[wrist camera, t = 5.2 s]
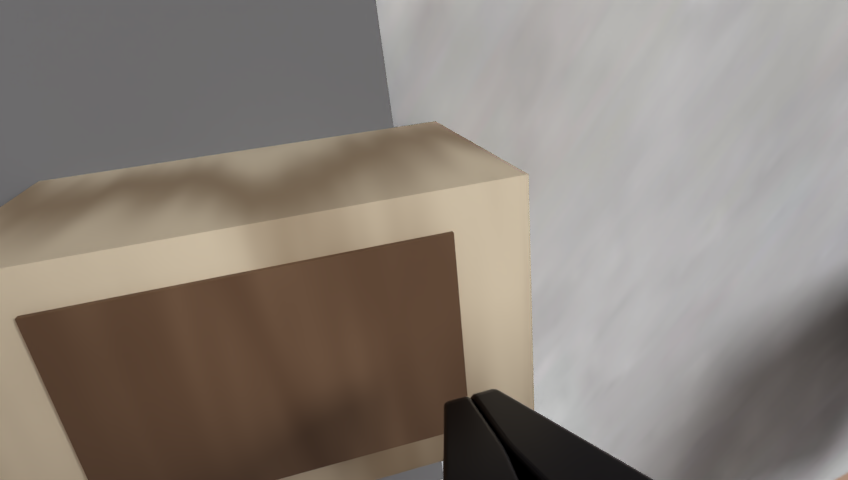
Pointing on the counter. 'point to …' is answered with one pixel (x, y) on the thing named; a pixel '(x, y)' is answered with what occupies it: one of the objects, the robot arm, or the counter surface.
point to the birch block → (262, 310)
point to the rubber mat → (181, 85)
